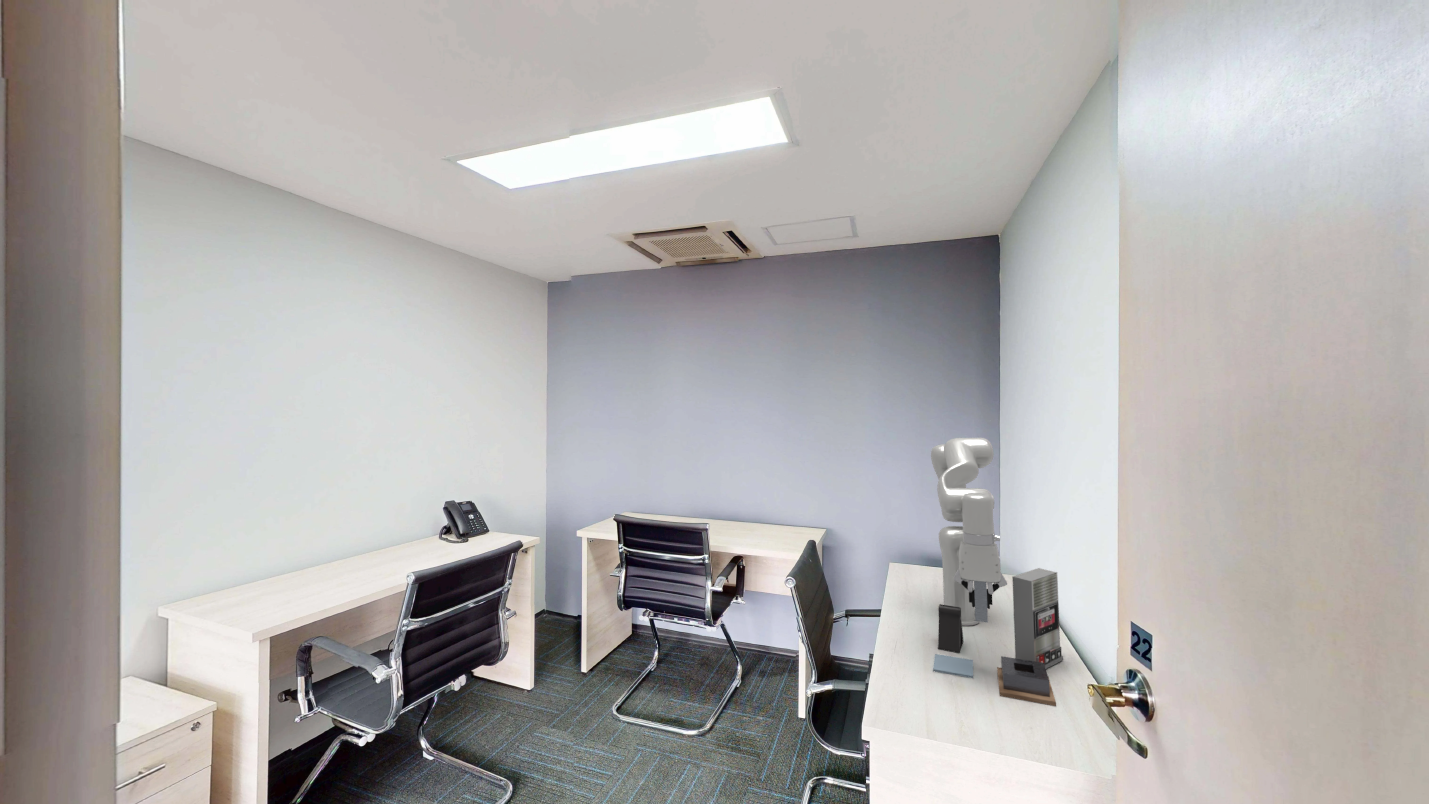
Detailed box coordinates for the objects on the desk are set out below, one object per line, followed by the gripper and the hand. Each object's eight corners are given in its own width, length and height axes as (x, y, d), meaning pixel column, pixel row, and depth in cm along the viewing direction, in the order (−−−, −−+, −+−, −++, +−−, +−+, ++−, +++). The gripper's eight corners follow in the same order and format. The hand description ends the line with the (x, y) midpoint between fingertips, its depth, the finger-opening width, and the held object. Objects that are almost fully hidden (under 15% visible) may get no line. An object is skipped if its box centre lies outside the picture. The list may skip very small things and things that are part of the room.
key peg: (975, 616, 146) (973, 577, 146) (987, 618, 145) (985, 578, 145) (975, 621, 143) (974, 580, 143) (987, 622, 142) (986, 581, 142)
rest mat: (935, 655, 156) (935, 653, 156) (972, 661, 151) (972, 659, 151) (933, 671, 147) (933, 669, 147) (973, 678, 142) (973, 676, 142)
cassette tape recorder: (1037, 674, 143) (1034, 582, 144) (1015, 665, 148) (1011, 576, 149) (1064, 661, 150) (1060, 573, 151) (1041, 653, 156) (1038, 567, 156)
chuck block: (1001, 670, 144) (1001, 656, 144) (1044, 678, 140) (1044, 662, 140) (1003, 688, 135) (1003, 673, 135) (1049, 697, 130) (1049, 680, 131)
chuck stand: (997, 670, 146) (997, 666, 146) (1048, 679, 141) (1048, 675, 141) (999, 695, 133) (999, 691, 133) (1055, 706, 128) (1055, 701, 128)
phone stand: (959, 653, 157) (958, 613, 157) (937, 649, 160) (936, 609, 160) (963, 642, 164) (962, 603, 164) (943, 638, 167) (941, 599, 168)
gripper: (1011, 537, 145) (1013, 605, 144) (945, 533, 151) (948, 597, 151) (1014, 544, 138) (1016, 615, 138) (945, 540, 144) (947, 607, 144)
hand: (980, 605), depth 144 cm, fingers closed on key peg, 3 cm apart
